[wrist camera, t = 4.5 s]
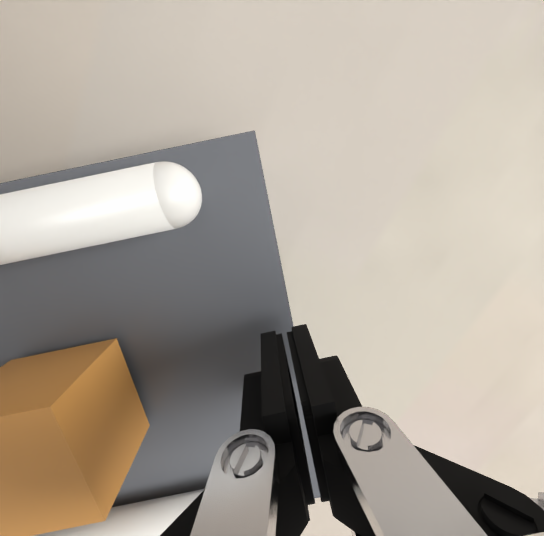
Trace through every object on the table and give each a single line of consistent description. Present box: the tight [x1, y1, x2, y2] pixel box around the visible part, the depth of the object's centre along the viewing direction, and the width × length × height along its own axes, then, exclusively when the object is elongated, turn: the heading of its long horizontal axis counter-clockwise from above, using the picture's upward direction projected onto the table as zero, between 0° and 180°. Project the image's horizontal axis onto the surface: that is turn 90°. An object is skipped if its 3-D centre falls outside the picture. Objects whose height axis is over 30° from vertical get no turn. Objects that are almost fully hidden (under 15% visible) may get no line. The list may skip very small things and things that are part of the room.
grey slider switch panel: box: [0, 131, 320, 507], centre depth 14 cm, size 22×16×6 cm
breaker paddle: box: [0, 338, 150, 536], centre depth 9 cm, size 4×4×4 cm
